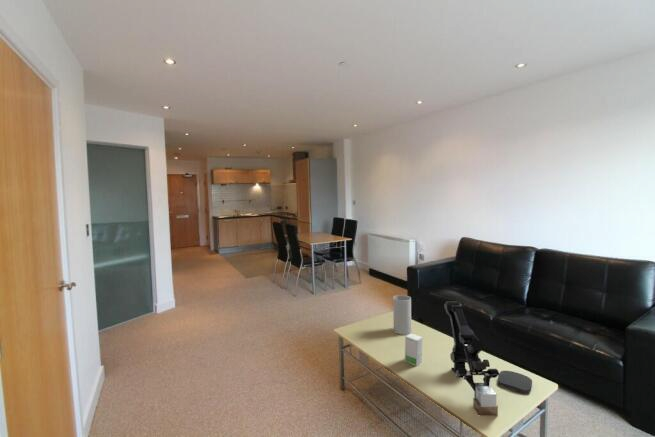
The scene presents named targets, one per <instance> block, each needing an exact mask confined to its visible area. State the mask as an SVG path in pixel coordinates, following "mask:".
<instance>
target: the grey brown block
mask: <svg viewBox="0 0 655 437" xmlns="http://www.w3.org/2000/svg"><path fill="white" fill-rule="evenodd" d="M472 400H473V401H472V404H473V405H472V406H473V407H472V408H473V410H474V411H475V412H476V414H477V416H478V415H480V417H481V416H482V417H485V416H487V417H488V416H489V417H491V416H492V417H498V416H499V415H498V414H499V412H498V411H499V410H498V409H499V406H498V405H497V393H496V392H495V391H494V389H493V388H492V387H491V386H490V385H489V386H476V398H475V397H473V398H472Z"/></svg>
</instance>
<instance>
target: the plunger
mask: <svg viewBox="0 0 655 437" xmlns="http://www.w3.org/2000/svg"><path fill="white" fill-rule="evenodd" d="M474 384H475V387H476V386H487V384H486V383H484V382H474ZM473 395H474V397H473V398H476V393H475V392H474V394H473Z"/></svg>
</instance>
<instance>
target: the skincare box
mask: <svg viewBox="0 0 655 437" xmlns="http://www.w3.org/2000/svg"><path fill="white" fill-rule="evenodd" d="M404 339H405V341H404V342H405V343H404V362H405V363H409V364H410V365H413V366H416V367H418V366H419V365H420V364H422V362H423V337H422V336H419V335H418V334H414V333H412V332H411V333H410V334H407V335H405V338H404Z"/></svg>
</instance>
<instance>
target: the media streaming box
mask: <svg viewBox="0 0 655 437" xmlns="http://www.w3.org/2000/svg"><path fill="white" fill-rule="evenodd" d="M497 384H498V386H499V387H502V388H504V389H507V390H510V391H513V392H516V393H520V394H524V395H525V394H527V395H528V394H530V393H531V391H532V387H533V380H532V379H531V378H530V377H529V376H527V375H525V374H521V373H519V372H515V371H511V370H502V371H499V375H498V376H497Z"/></svg>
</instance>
